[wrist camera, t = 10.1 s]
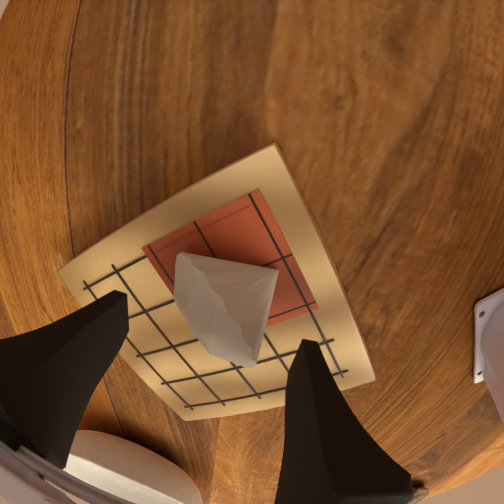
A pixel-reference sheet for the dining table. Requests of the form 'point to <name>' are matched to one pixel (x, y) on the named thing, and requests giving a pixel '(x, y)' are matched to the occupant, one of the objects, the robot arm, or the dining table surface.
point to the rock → (419, 494)
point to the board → (237, 250)
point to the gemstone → (225, 304)
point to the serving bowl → (129, 470)
